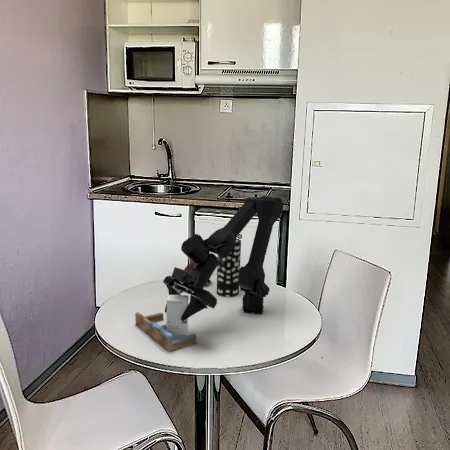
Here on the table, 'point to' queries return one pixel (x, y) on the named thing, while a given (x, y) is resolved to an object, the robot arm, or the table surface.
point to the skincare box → (176, 315)
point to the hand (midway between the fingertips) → (173, 316)
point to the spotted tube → (229, 272)
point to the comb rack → (162, 332)
